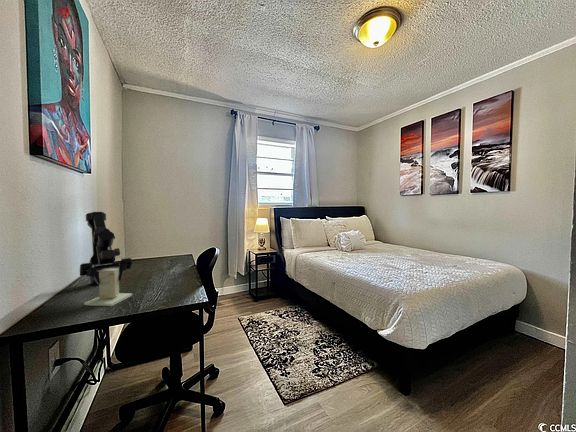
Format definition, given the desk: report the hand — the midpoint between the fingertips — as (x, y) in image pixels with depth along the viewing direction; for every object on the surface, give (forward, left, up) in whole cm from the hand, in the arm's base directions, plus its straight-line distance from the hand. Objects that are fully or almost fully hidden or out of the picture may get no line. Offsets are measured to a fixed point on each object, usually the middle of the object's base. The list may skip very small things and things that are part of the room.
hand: (109, 282), depth 104 cm
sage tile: (-1, +1, -8) cm, 8 cm away
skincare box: (-1, +1, -7) cm, 7 cm away
